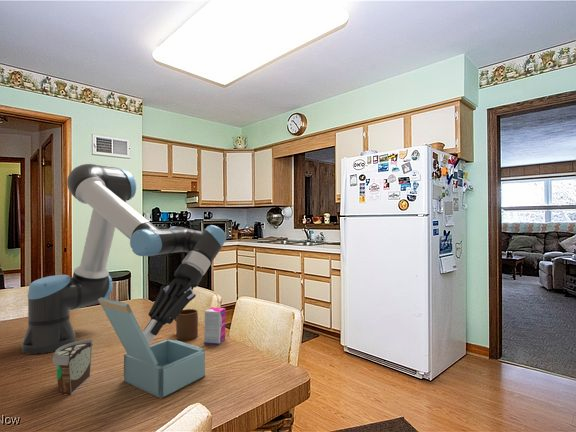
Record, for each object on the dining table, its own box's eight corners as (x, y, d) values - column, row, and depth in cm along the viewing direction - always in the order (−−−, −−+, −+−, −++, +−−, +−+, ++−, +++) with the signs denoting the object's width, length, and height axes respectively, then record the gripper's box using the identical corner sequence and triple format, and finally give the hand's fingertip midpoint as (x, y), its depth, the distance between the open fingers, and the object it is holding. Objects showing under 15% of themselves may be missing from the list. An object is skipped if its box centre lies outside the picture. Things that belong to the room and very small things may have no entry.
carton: (170, 360, 102) (170, 337, 102) (209, 374, 93) (209, 349, 93) (122, 380, 90) (122, 354, 90) (162, 399, 80) (162, 370, 80)
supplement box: (219, 345, 115) (219, 311, 115) (203, 344, 116) (203, 311, 116) (226, 339, 120) (225, 307, 121) (210, 338, 122) (210, 306, 122)
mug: (165, 335, 125) (165, 310, 125) (183, 329, 131) (183, 305, 131) (184, 342, 117) (184, 315, 117) (202, 336, 123) (202, 311, 123)
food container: (69, 375, 93) (69, 339, 93) (92, 374, 93) (92, 338, 93) (40, 399, 81) (40, 357, 81) (67, 398, 81) (67, 356, 81)
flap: (130, 352, 89) (101, 297, 83) (158, 363, 82) (128, 303, 76) (127, 354, 88) (97, 299, 82) (155, 365, 82) (125, 306, 75)
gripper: (214, 279, 97) (167, 357, 83) (184, 275, 104) (136, 346, 90) (200, 263, 93) (147, 343, 79) (170, 260, 100) (117, 333, 86)
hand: (141, 345), depth 85 cm, fingers closed
